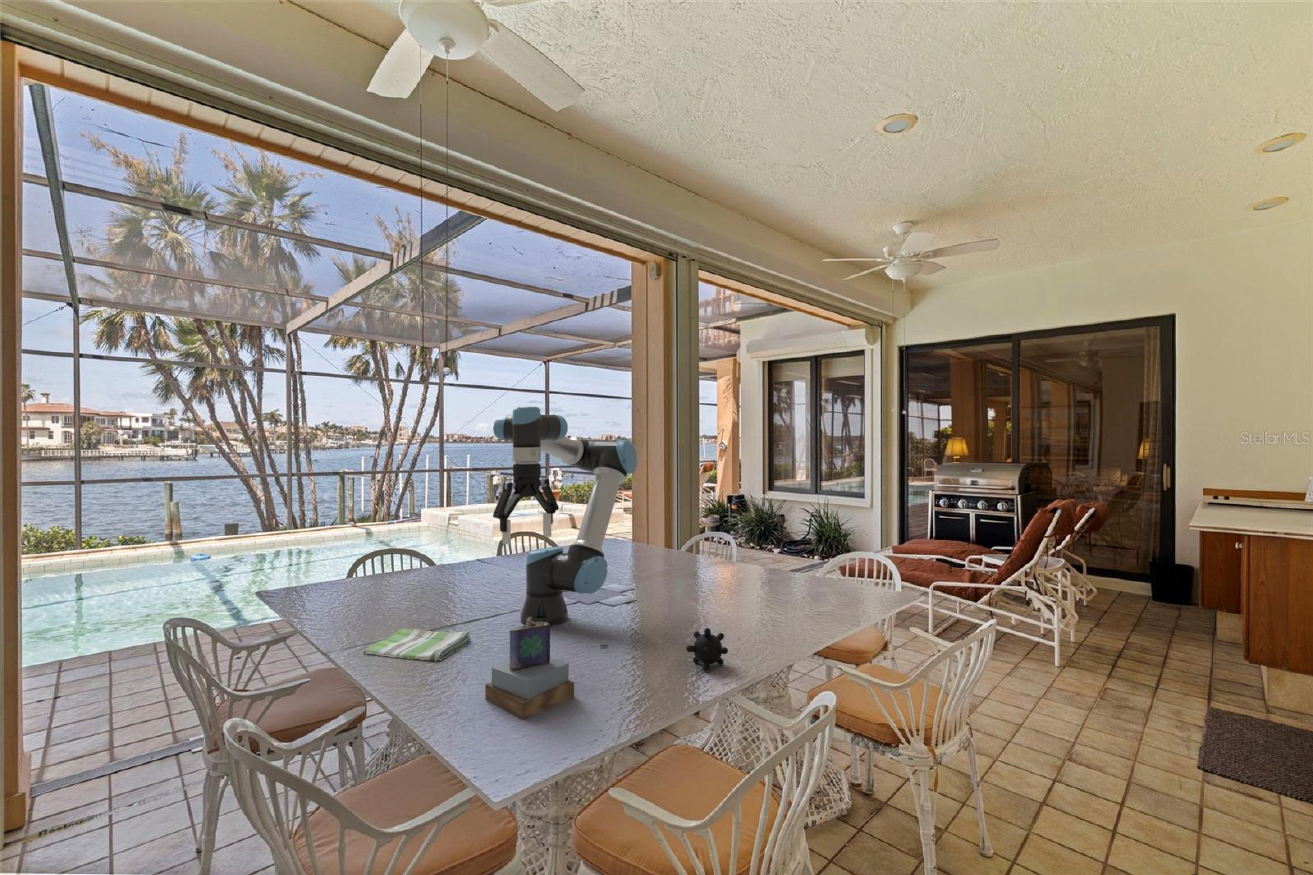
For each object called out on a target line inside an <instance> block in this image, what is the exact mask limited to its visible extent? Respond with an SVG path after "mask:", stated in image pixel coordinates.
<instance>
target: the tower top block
mask: <svg viewBox="0 0 1313 875" xmlns="http://www.w3.org/2000/svg"><path fill="white" fill-rule="evenodd" d="M569 664H570V663H569V662H566V661H562V660H560V659H557V658H553V657H551V656H550V662H549V664H547V665H539V666H533V667H531V668H525V669H521V670H513V671H512V670H511V669H510V667H509V666H510V660H508V661H505V662H503V663H501V664H497V665H495V666H492V667H491V682H492V686H494V687H496V688H499V689H502V690H504V691H507V692H509V693H512V694H514V695H517V696H520V697H522V698H525V699H527V700H529V699H531V698H534V697H536V696H538V695H540V694H542V693H544V692H546V691H548V690H550V689H552V688H554V687H556V686H558V685H561V684H563V683H565V682H567V681H568V680H569Z"/></svg>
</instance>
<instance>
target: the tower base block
mask: <svg viewBox="0 0 1313 875" xmlns="http://www.w3.org/2000/svg"><path fill="white" fill-rule="evenodd" d="M484 688H485V689H484V691H485V692H484V693H485V694H484V699H485V700H486V701H488V702H490V703H492V704H493V705H496V706H497V707H499V708H500V709H503V710H504V711H506V712H508V713H510V714H512V715H514V716H516V717H517V718H519V719H521V720H524V719H527V718H529V717H531V716H533V715H536V714H538V713H541V712H543V711H546V710H547V709H549V708H551V707H554V706H556V705H559V704H562V703H563V702H565V701H568V700H570V699H573V698H575V681H573V680H571V679H568V681H567V682H565V683H563V684H561V685H558V686H556V687H554V688H552V689H550V690H548V691H546V692H544V693H542V694H540V695H538V696H536V697H534V698H531V699H529V700H527V699H525V698H522V697H520V696H517V695H514V694H512V693H509V692H507V691H504V690H502V689H499V688H496V687H494V686H492V681H491V682H488V683H486V684H485V686H484Z"/></svg>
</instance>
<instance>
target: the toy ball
mask: <svg viewBox="0 0 1313 875" xmlns="http://www.w3.org/2000/svg"><path fill="white" fill-rule="evenodd" d="M711 632H712V631H711V628H709V627H706V628H704V632H703V634H701V633H700V632H699V631H695V632H694V633H693V636H694V638H695V641H694V643H693V645H691V644H690V645H687V646H686V651H687V652H688V653H693V655H694V656H693V658H692V661H693V663H694V662H695V663H694V664H698V663H701V664H703V667H702V668H703V669H704V670H705V671H708V670H711V665H714V664H715V663H717V665H719V664H723V665H724V663H725V661H724V659H723V658H722V655H727V654H729V649H728V648H727V647H724V646H722V645H723V644H722V640H724V638H725V635H724V633H722V632H720V633H718V634H717V635H714V634H712V633H711ZM697 662H698V663H697ZM704 670H703V671H704ZM705 671H704V672H705Z"/></svg>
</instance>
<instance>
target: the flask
mask: <svg viewBox="0 0 1313 875" xmlns="http://www.w3.org/2000/svg"><path fill="white" fill-rule="evenodd" d="M526 619H527V618H526ZM531 619H532V618H531V617H528V619H527V622H526V625H525V624H523V625H521V626H514V627H512V628H510V629H509V661H510V666H509V667H510V669H511V670H512V671H513V670H521V669H525V668H531V667H533V666H539V665H547V664H549V662H550V657H551V626H550V624H549V623H547V622H544V623H543V622H542V621H541V622H540V623H539V622H533V621H532V620H531Z"/></svg>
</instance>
